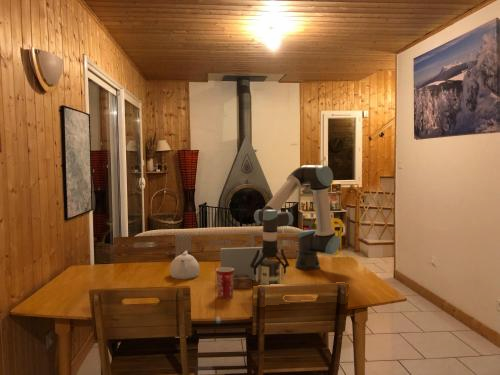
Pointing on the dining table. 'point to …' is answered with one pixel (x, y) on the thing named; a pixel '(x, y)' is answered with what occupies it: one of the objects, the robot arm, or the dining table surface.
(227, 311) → the dining table surface
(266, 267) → the coffee can
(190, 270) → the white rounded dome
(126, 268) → the dining table surface
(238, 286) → the cleat ledge
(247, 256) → the backboard
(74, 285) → the dining table surface
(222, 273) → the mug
